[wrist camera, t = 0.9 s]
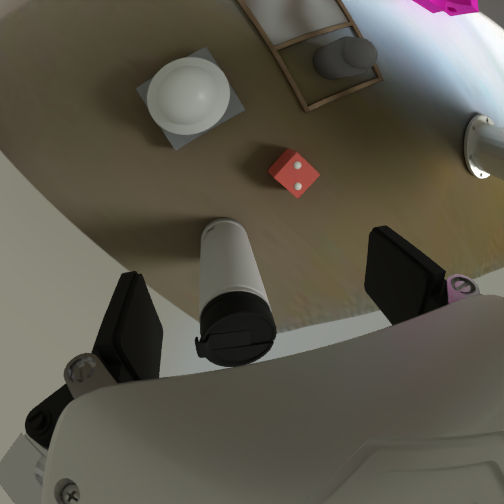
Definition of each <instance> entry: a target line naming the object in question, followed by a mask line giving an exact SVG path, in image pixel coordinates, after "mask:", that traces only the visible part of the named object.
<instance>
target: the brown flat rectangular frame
mask: <svg viewBox="0 0 504 504" xmlns="http://www.w3.org/2000/svg"><path fill="white" fill-rule="evenodd" d="M236 1H237V2H238V3H239V5H240V6H241V7H242V9H243V10H244V12H245V13H246V15H247V16H248V17H249V19H250V20H251V22H252V23H253V25H254V26H255V28H256V29H257V31H258V32H259V34H260V35H261V37H262V39H263V40H264V42H265V43H266V45H267V47H268V48H269V50H270V51H271V53H272V55H273V56H274V58H275V60H276V61H277V63H278V65H279V66H280V68H281V70H282V72H283V73H284V75H285V77H286V79H287V80H288V82H289V84H290V86H291V88H292V89H293V91H294V93H295V95H296V97H297V99H298V101H299V102H300V104H301V106H302V108H303V110H304V112H305V113H307V112H309V111H311V110H313V109H315V108H317V107H320V106H322V105H324V104H326V103H329V102H331V101H333V100H335V99H338V98H340V97H342V96H345V95H347V94H349V93H352V92H354V91H357V90H359V89H362V88H364V87H367V86H369V85H372V84H375V83H377V82H380V81H383V78H382V75H381V73H380V71H379V69H378V67H377V64H376V62H375V64H374V65H373V66H372V68H373V70H374V72H375V74H376V76H377V78H375V79H372V80H369V81H367V82H364V83H361V84H359V85H356V86H354V87H351V88H349V89H346V90H344V91H342V92H339V93H337V94H334V95H332V96H330V97H327V98H325V99H323V100H321V101H318V102H316V103H314V104H312V105H310V106H307V104H306V102H305V100H304V98H303V96H302V94H301V92H300V90H299V89H298V87H297V85H296V83H295V81H294V79H293V78H292V76H291V74H290V72H289V71H288V69H287V67H286V65H285V64H284V62H283V60H282V59H281V57H280V55H279V54H278V52H277V50H279V49H282V48H285V47H287V46H290V45H292V44H295V43H298V42H301V41H303V40H306V39H309V38H312V37H315V36H318V35H321V34H325V33H328V32H331V31H335V30H338V29H342V28H345V27H349V26H351V27H352V29H353V31H354V33H355V34H356V36H357V37H359V38H363V37H362V35H361V33H360V31H359V29H358V28H357V26H356V24H355V22H354V21H353V19H352V17H351V15H350V14H349V12H348V11H347V9H346V7H345V6H344V4H343V3H342V1H341V0H236ZM346 22H347V23H346ZM342 23H343V24H342ZM335 25H336V26H335ZM331 26H332V27H331ZM328 27H329V28H328ZM324 28H325V29H324ZM321 29H322V30H321ZM318 30H319V31H318ZM315 31H316V32H315ZM297 37H298V38H297ZM294 38H295V39H294ZM291 39H292V40H291ZM286 41H287V42H286ZM283 42H284V43H283ZM278 44H279V45H278Z"/></svg>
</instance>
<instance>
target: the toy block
mask: <svg viewBox="0 0 504 504" xmlns="http://www.w3.org/2000/svg"><path fill="white" fill-rule="evenodd" d="M413 1H414V2H416V3H418V4H419V5H421V6H422V7H424V8H426V9H427V10H429V11H430V12H432V13H436V12H440V11H444V12H446V13H447V14H448V15H450V16H454V15H460V14H467V13H475V12H479V10H478V1H477V0H413Z"/></svg>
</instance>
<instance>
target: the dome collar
mask: <svg viewBox="0 0 504 504" xmlns="http://www.w3.org/2000/svg"><path fill="white" fill-rule="evenodd" d="M187 57H196V58H202V59H205V60H208V61H210V62H212V63H213V64H215V65H216V66H217V67H219V66H218V64H217V63H216V61H215V59H214V58H213V56H212V55H211V53H210V52H209V50H208V49H207V47H204V48H202V49H200V50H198V51H196V52H194V53H192V54H191V55H189V56H187ZM187 57H185V58H187ZM219 68H220V67H219ZM153 78H154V77H152V78H151V79H149V80H148V81H146V82H145V83H143V84H142V85H140V86H139V87H137V88H136V90H137V92H138V93H139V95H140V97H141V98H142V100H143V101H144V103H145V104H146V106H147V107H148V105H147V93H148V88H149V85H150V83H151V81H152V79H153ZM228 83H229V82H228ZM229 88H230V99H229V104H228V106H227V109H226V111H225V113H224V114H223V116H222V117H221V119H220V120H219V121H218V122H217V123H216V124H214V125H213V126H212V127H210V128H209V129H207V130H205V131H202V132H200V133H196V134H191V135H180V134H175V133H171V132H169V131H167V130H165V129H163V128H162V127H161V126H160V128H161V129H162V131H163V132H164V134H165V135H166V137H167V139H168V140H169V142H170V143H171V145H172V146H173V148H174V149H175V151H177V150H178V149H180V148H181V147H183V146H184V145H186V144H188V143H189V142H191V141H192V140H194V139H196V138H197V137H199V136H201V135H202V134H204V133H206V132H207V131H209V130H211V129H212V128H214V127H216V126H218V125H219V124H221V123H223V122H225V121H226V120H228V119H230V118H232V117H234V116H236V115H237V114H239V113H241V112H243V111H245V108H244V107H243V105H242V103H241V102H240V100H239V98H238V97H237V95H236V93H235V92H234V90H233V88H232V87H231V85H230V83H229Z"/></svg>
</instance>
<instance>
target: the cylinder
mask: <svg viewBox="0 0 504 504" xmlns="http://www.w3.org/2000/svg"><path fill="white" fill-rule="evenodd" d="M376 60H377V51H376V49H375V47H374V45H373V44H372V43H371V42H369V41H368V40H366V39H364V38H359V37H356V38H354V37H343V38H340V39H338V40H336V41H334V42H332V43H330V44H328V45H326V46H324V47H322V48H320V49H318V50H317V51H316V52H315V54H314V57H313V64H314V67H315V69H316V71H317V72H318V73H319V74H320V75H321V76H323V77H324V78H327V79H331V80H335V79H340V78H345V77H350V76H355V75H360V74H363V73H365V72H366V71H368V69H369V68H370V67H372V66H373V65H374V64H375V62H376Z"/></svg>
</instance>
